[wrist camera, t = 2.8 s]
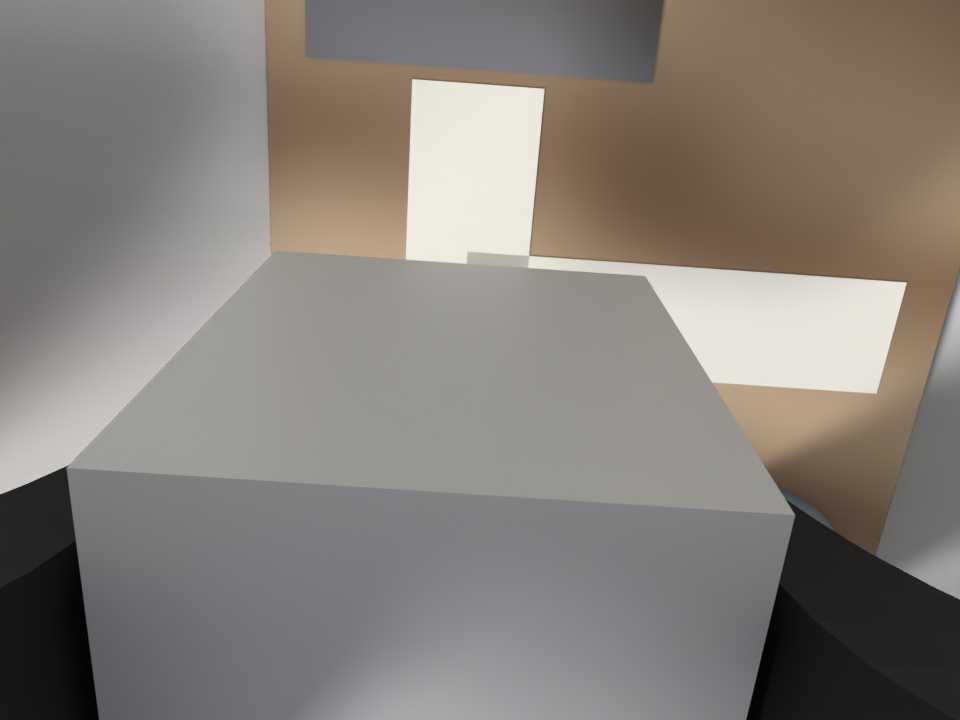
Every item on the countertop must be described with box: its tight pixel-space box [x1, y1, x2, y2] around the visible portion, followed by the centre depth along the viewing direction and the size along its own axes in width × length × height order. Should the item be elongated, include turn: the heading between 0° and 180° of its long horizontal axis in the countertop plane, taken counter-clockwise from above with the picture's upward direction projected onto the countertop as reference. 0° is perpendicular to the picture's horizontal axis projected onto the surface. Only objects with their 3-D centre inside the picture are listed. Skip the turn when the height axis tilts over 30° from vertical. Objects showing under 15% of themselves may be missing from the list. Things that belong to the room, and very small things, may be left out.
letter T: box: [406, 79, 907, 394], centre depth 18 cm, size 9×10×1 cm
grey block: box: [67, 251, 795, 720], centre depth 9 cm, size 5×5×6 cm
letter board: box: [265, 0, 960, 556], centre depth 17 cm, size 23×14×1 cm, turn 176°
